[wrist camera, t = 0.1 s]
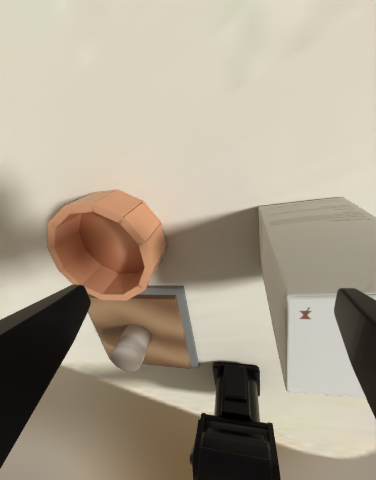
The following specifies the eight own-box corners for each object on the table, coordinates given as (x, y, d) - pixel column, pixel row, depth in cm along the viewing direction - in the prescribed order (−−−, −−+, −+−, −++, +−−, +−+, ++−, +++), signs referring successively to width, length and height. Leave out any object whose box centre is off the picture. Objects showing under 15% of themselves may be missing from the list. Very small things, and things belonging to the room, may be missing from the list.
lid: (190, 363, 32) (184, 398, 28) (113, 356, 35) (96, 386, 31) (176, 295, 27) (165, 326, 23) (85, 293, 30) (61, 320, 26)
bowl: (172, 275, 26) (161, 301, 22) (94, 275, 29) (72, 299, 25) (153, 185, 21) (134, 198, 18) (62, 195, 24) (28, 209, 20)
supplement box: (259, 269, 24) (280, 395, 12) (257, 204, 20) (282, 294, 9) (337, 267, 22) (442, 411, 11) (347, 194, 19) (511, 292, 8)
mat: (198, 365, 33) (198, 368, 33) (111, 356, 37) (109, 359, 36) (183, 286, 27) (182, 288, 26) (79, 285, 30) (76, 287, 30)
